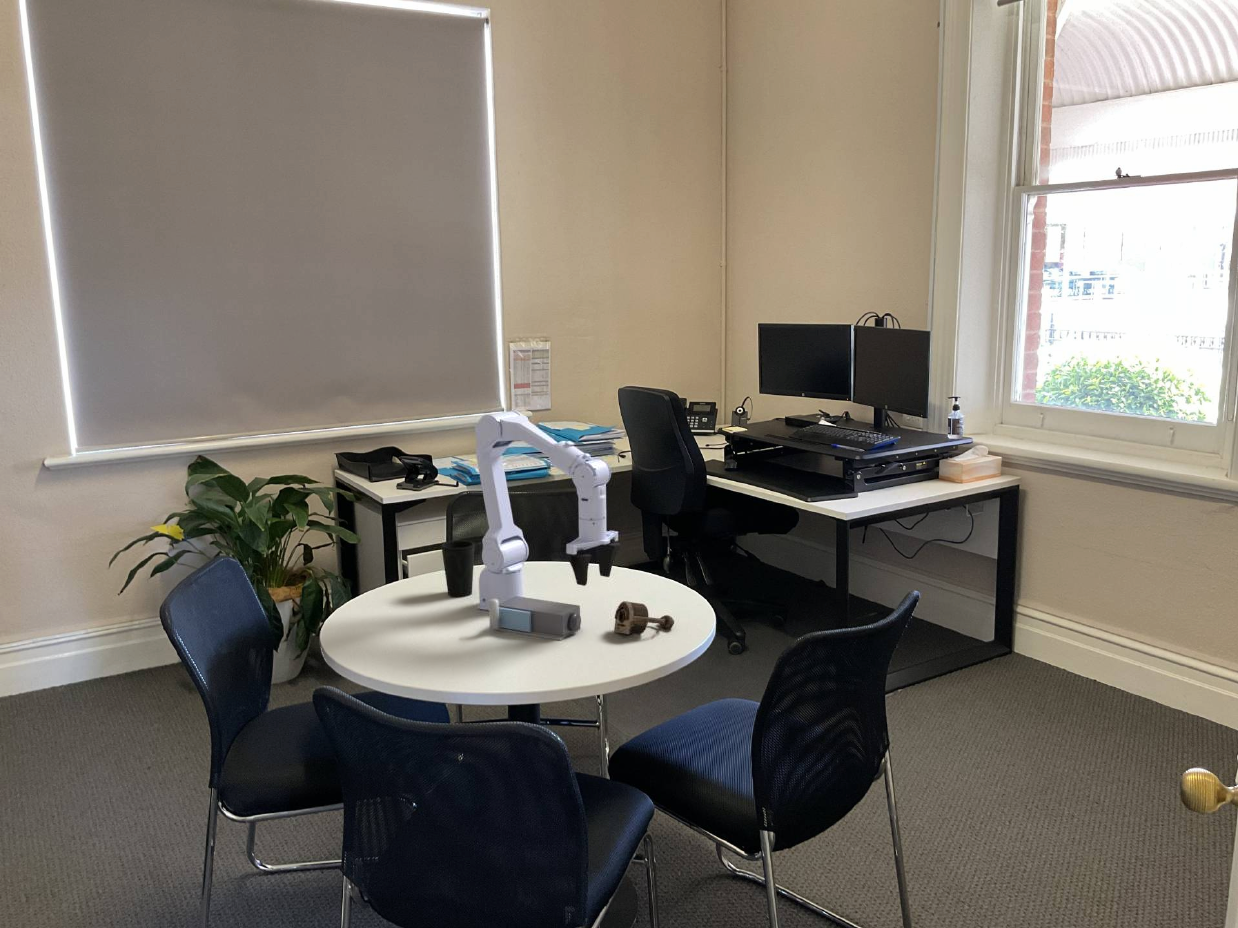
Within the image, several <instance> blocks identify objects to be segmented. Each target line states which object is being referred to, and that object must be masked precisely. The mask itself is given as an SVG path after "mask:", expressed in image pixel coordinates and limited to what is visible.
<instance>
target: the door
mask: <svg viewBox="0 0 1238 928" xmlns="http://www.w3.org/2000/svg"><path fill="white" fill-rule="evenodd" d="M488 613H489V614H488V615H489V616H488V618H489V629H490V630H494V631H495V629H499V627H502V628H508V629H514V630H520V631H526V632H531V612H527V611H521V610H514V609H508V608H501V607H499V601H498V599H490V600H489V610H488Z"/></svg>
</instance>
